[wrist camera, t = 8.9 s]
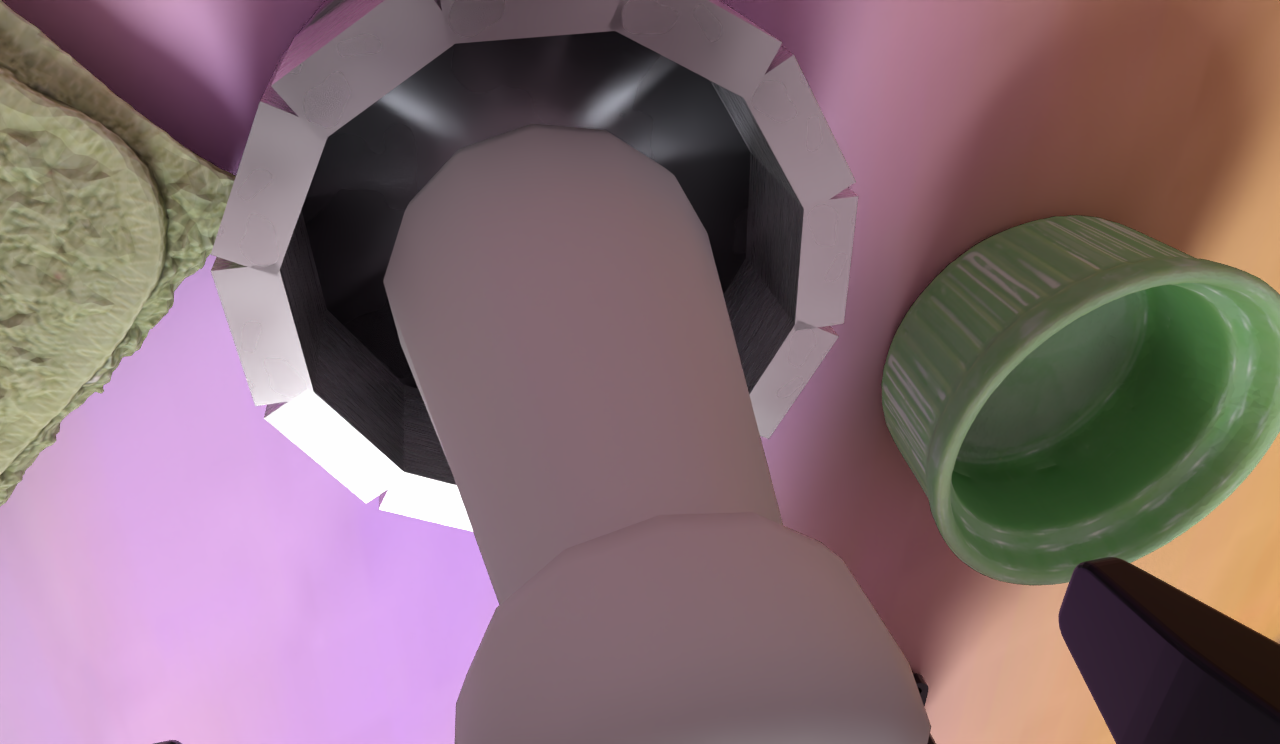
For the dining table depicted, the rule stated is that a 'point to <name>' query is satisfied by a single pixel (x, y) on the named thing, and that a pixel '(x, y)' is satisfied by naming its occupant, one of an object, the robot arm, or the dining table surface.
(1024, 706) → the dining table surface
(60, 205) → the washcloth
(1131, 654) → the robot arm
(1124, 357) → the ramekin
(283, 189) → the faceted metal bowl
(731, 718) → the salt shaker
